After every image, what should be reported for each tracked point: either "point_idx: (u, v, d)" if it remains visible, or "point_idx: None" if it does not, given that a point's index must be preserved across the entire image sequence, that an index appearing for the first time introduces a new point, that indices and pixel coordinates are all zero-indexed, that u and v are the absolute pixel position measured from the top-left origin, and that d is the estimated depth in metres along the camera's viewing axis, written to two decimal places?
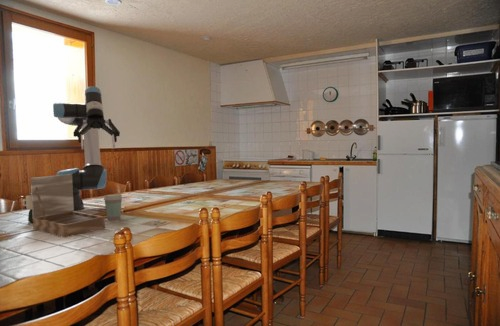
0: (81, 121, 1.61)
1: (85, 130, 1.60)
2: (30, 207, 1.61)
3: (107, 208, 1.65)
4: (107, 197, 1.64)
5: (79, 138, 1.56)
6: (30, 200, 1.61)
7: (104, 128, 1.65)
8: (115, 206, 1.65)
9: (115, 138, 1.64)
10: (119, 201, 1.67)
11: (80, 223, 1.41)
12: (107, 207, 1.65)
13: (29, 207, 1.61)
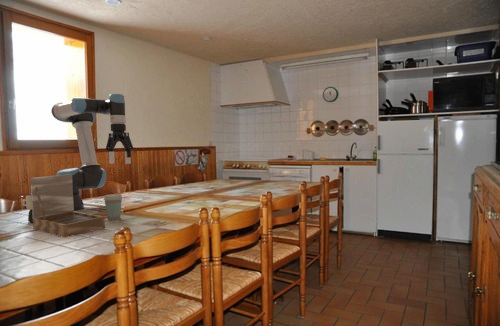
0: (109, 136, 1.81)
1: (112, 146, 1.81)
2: (30, 207, 1.61)
3: (107, 208, 1.65)
4: (107, 197, 1.64)
5: (109, 154, 1.83)
6: (30, 200, 1.61)
7: None
8: (115, 206, 1.65)
9: (127, 155, 1.75)
10: (119, 201, 1.67)
11: (80, 223, 1.41)
12: (107, 207, 1.65)
13: (29, 207, 1.61)
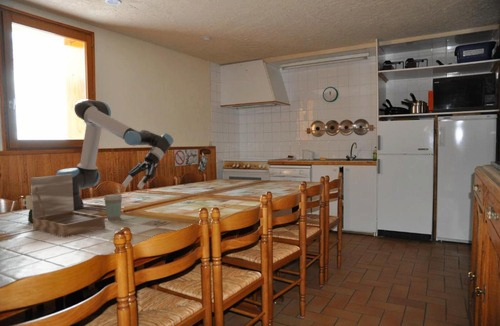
0: (138, 164, 1.87)
1: (135, 171, 1.84)
2: (30, 207, 1.61)
3: (107, 208, 1.65)
4: (107, 197, 1.64)
5: (127, 178, 1.83)
6: (30, 200, 1.61)
7: None
8: (115, 206, 1.65)
9: (144, 179, 1.73)
10: (119, 201, 1.67)
11: (80, 223, 1.41)
12: (107, 207, 1.65)
13: (29, 207, 1.61)
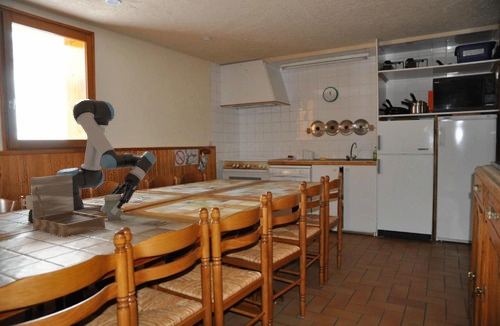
0: (117, 186, 1.76)
1: None
2: (30, 207, 1.61)
3: (107, 208, 1.65)
4: (107, 197, 1.64)
5: None
6: (30, 200, 1.61)
7: None
8: None
9: (118, 205, 1.64)
10: None
11: (80, 223, 1.41)
12: (107, 207, 1.65)
13: (29, 207, 1.61)
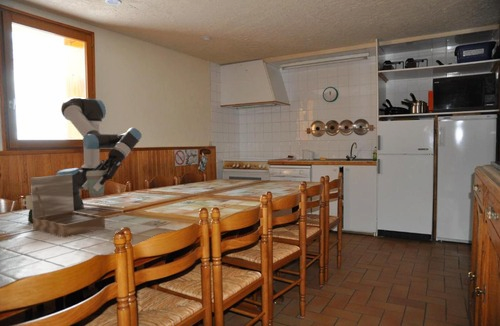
0: (100, 162, 1.67)
1: None
2: (30, 207, 1.61)
3: (89, 184, 1.56)
4: (89, 173, 1.55)
5: None
6: (30, 200, 1.61)
7: None
8: None
9: (101, 181, 1.55)
10: None
11: (80, 223, 1.41)
12: (89, 183, 1.56)
13: (29, 207, 1.61)
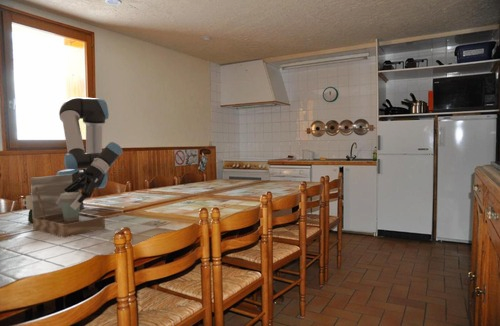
0: (78, 178, 1.58)
1: (73, 187, 1.55)
2: (30, 207, 1.61)
3: (63, 208, 1.46)
4: (62, 195, 1.45)
5: None
6: (30, 200, 1.61)
7: None
8: None
9: (80, 198, 1.44)
10: None
11: (80, 223, 1.41)
12: (63, 207, 1.46)
13: (29, 207, 1.61)
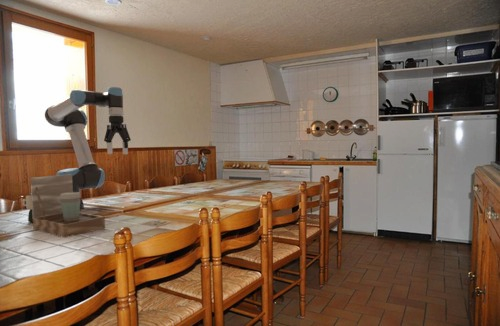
0: (107, 128, 1.89)
1: (110, 137, 1.89)
2: (30, 207, 1.61)
3: (63, 208, 1.46)
4: (62, 195, 1.45)
5: None
6: (30, 200, 1.61)
7: None
8: (72, 205, 1.46)
9: (125, 145, 1.83)
10: (77, 200, 1.48)
11: (80, 223, 1.41)
12: (63, 207, 1.46)
13: (29, 207, 1.61)
